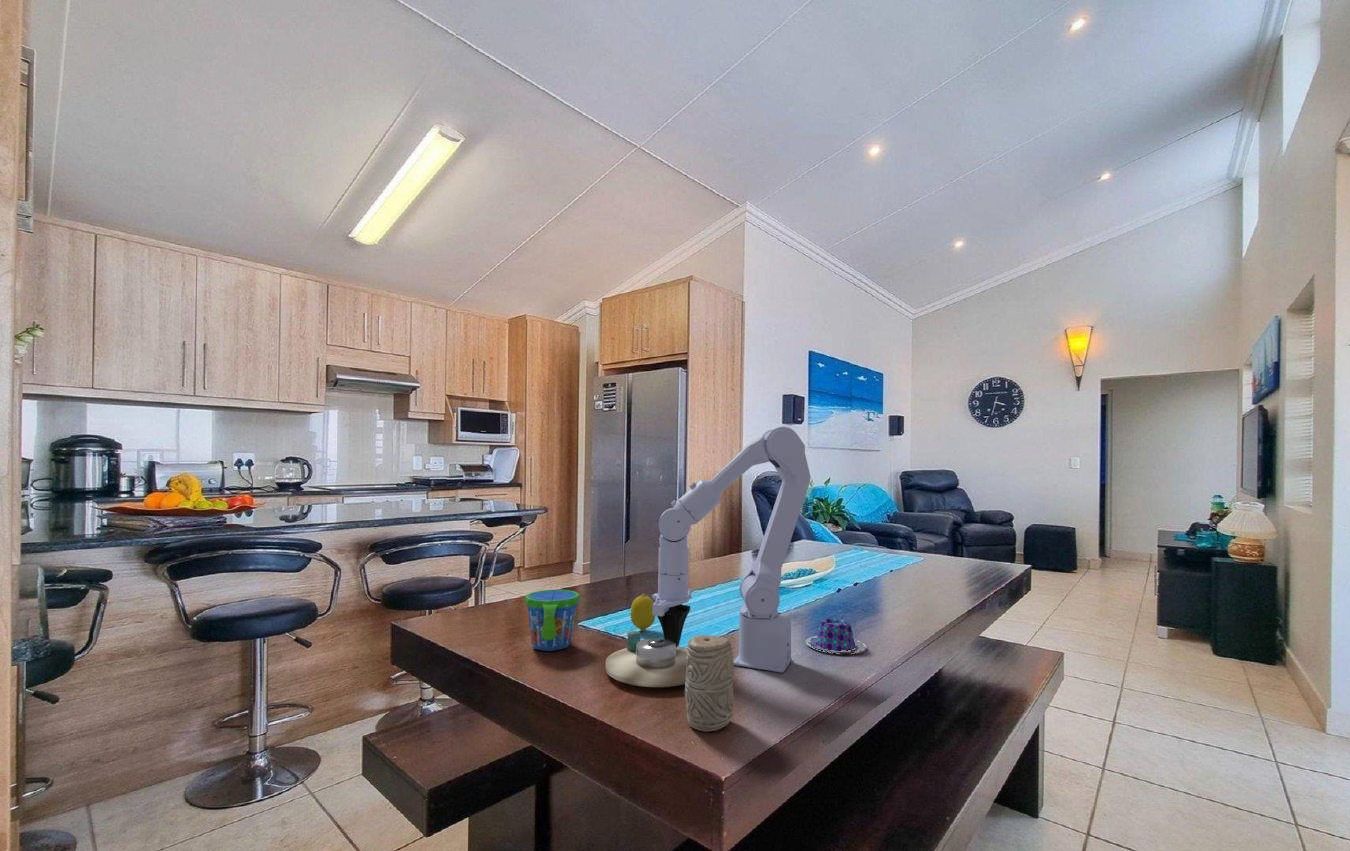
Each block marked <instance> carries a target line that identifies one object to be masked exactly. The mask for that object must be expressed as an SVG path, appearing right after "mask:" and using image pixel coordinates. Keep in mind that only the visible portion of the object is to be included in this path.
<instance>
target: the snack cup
mask: <svg viewBox="0 0 1350 851" xmlns="http://www.w3.org/2000/svg"><path fill="white" fill-rule="evenodd" d="M524 602H525V605H526V607H527V614H528V615H527V616H528V624H529V630H530V631H529V632H530V633H529V634H530V639H531V640H530V641H531V645H532V647H533V649H534V650H539V651H546V652H552V651H559V650H562V649H565V648H566V649H567V648H568V647H569V645H571V642H572V637H573V630H574V626H575V625H574V624H575V618H576V611H577V606H578V604H579V602H580V594H579V593H578V592H576V591H574V590H569V589H545V590H543V589H542V590H537V591H533V592H529V593H527V594H526V595H525V601H524Z"/></svg>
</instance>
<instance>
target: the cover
mask: <svg viewBox="0 0 1350 851" xmlns="http://www.w3.org/2000/svg"><path fill="white" fill-rule="evenodd" d="M636 664H637V665H638V666H640V667H642V668H646V669H666V668H670V667H672V666H674V665H675V664H676V644H675V643H674V642H673V641H670V640H666V639H664V638H647V639H642V640H640V641H639V642H638V643H637V644H636Z"/></svg>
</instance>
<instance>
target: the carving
mask: <svg viewBox="0 0 1350 851" xmlns="http://www.w3.org/2000/svg"><path fill="white" fill-rule="evenodd" d="M686 648H687V650H688V651H687V657H686V659H687V665H686V682H685V684H684V697H685V708H686V718H687V721H688V724H689V726H690V727H691V728H692V729H694V730H698V731H700V732H703V733H709V732H715V731H719V730H721V729H723V728H724V727H726V726H727V725H728V724H729V723H730V722H731V720H732V719H733V718H732V717H733V711H734V672H735V669H734V666H735V665H734V656H733V654H734V653H733V648H732V644H731V642H730V639H729V638H727V637H724V636H718V635H708V634H707V635H705V634H699V635H694V636H692V637H691V638H689V639H688V642H687V646H686Z"/></svg>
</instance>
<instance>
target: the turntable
mask: <svg viewBox="0 0 1350 851" xmlns="http://www.w3.org/2000/svg"><path fill="white" fill-rule="evenodd" d="M639 641H641V632H640V631H636V630H635V631H634V630H632V631H628V632H627V643H626V644H627V646H626V647H625V648H621V649H619V650H616V651H615V652H613V653H611V654H610V655H608V656H607V657H606V659H605V672H606V673H607V674H608V676H609V677H611V678H613V679H614V680H616V681H618V682H620V683H621V682H622V683H624V684H627V685H630V686H637V687H646V688H671V687H677V686H682V685H685V682H686V665H687V659H686V657H687V651H688V650H687V647H683V646H678V647H676V664H675V665H674V666H672V667H670V668H666V669H646V668H642V667H640V666H638V665H637V664H636V644H637V643H638V642H639Z"/></svg>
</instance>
